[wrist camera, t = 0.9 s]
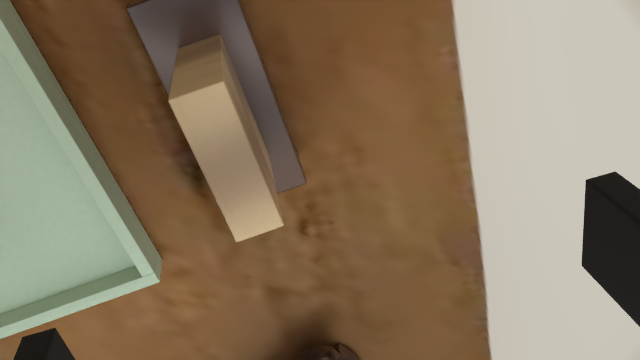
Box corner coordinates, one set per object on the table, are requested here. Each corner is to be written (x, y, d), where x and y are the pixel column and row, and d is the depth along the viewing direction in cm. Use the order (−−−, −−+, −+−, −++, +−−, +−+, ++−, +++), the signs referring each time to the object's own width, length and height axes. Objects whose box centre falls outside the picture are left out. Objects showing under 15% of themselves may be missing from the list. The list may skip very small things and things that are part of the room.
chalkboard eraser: (133, -7, 28) (98, 50, 19) (226, -40, 28) (234, 1, 19) (222, 183, 34) (227, 294, 25) (298, 156, 34) (330, 258, 25)
